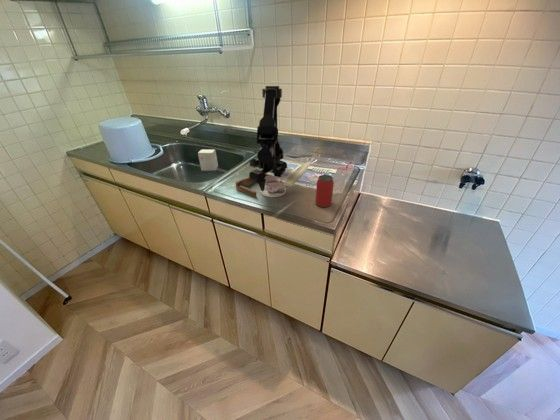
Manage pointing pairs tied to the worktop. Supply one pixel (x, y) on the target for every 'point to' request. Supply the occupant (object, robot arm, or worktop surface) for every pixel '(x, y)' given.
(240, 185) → the open wooden frame
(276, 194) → the teacup
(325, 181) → the beer can
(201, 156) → the small box
